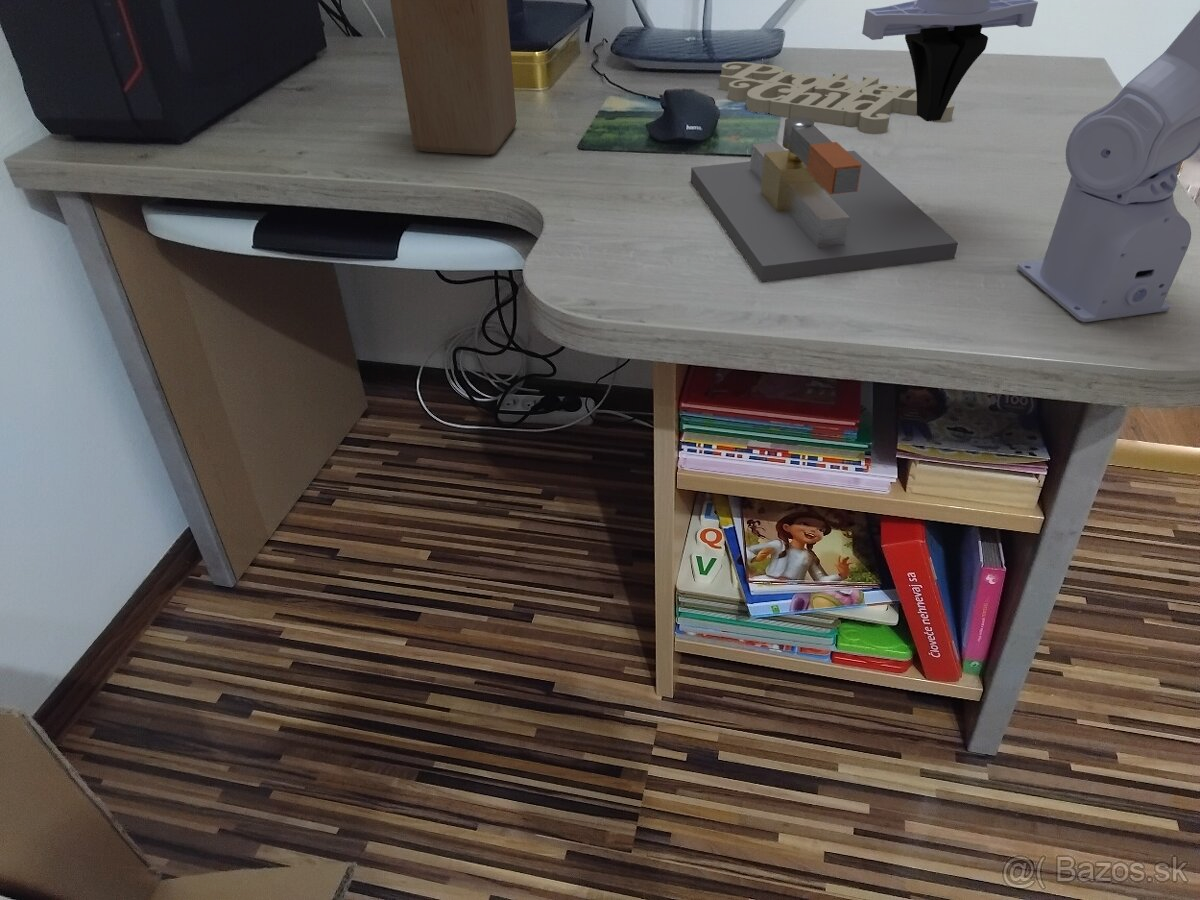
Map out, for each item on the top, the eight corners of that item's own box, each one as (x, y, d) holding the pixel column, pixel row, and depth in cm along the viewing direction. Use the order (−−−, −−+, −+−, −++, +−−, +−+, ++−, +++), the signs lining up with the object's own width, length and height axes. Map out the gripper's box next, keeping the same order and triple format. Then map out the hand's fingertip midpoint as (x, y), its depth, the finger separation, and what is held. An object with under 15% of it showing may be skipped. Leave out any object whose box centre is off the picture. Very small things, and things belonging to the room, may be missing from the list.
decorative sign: (685, 93, 109) (729, 59, 119) (685, 110, 111) (728, 75, 121) (940, 128, 98) (964, 88, 108) (936, 147, 99) (960, 105, 109)
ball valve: (854, 243, 78) (864, 189, 74) (807, 249, 77) (815, 194, 74) (782, 165, 91) (787, 117, 88) (741, 170, 91) (745, 121, 88)
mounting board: (954, 258, 78) (958, 242, 77) (761, 281, 76) (762, 266, 75) (851, 164, 95) (854, 150, 94) (690, 181, 93) (691, 167, 92)
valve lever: (778, 142, 82) (781, 117, 81) (804, 139, 83) (807, 114, 81) (829, 195, 73) (833, 168, 72) (859, 192, 73) (863, 165, 72)
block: (495, 158, 99) (475, -43, 86) (411, 154, 100) (378, -45, 87) (519, 127, 106) (504, -63, 93) (440, 123, 108) (414, -64, 95)
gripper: (1020, -70, 74) (979, 95, 83) (859, -59, 72) (834, 109, 81) (1070, -54, 69) (1021, 121, 78) (897, -41, 67) (867, 136, 76)
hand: (928, 117), depth 79 cm, fingers closed
